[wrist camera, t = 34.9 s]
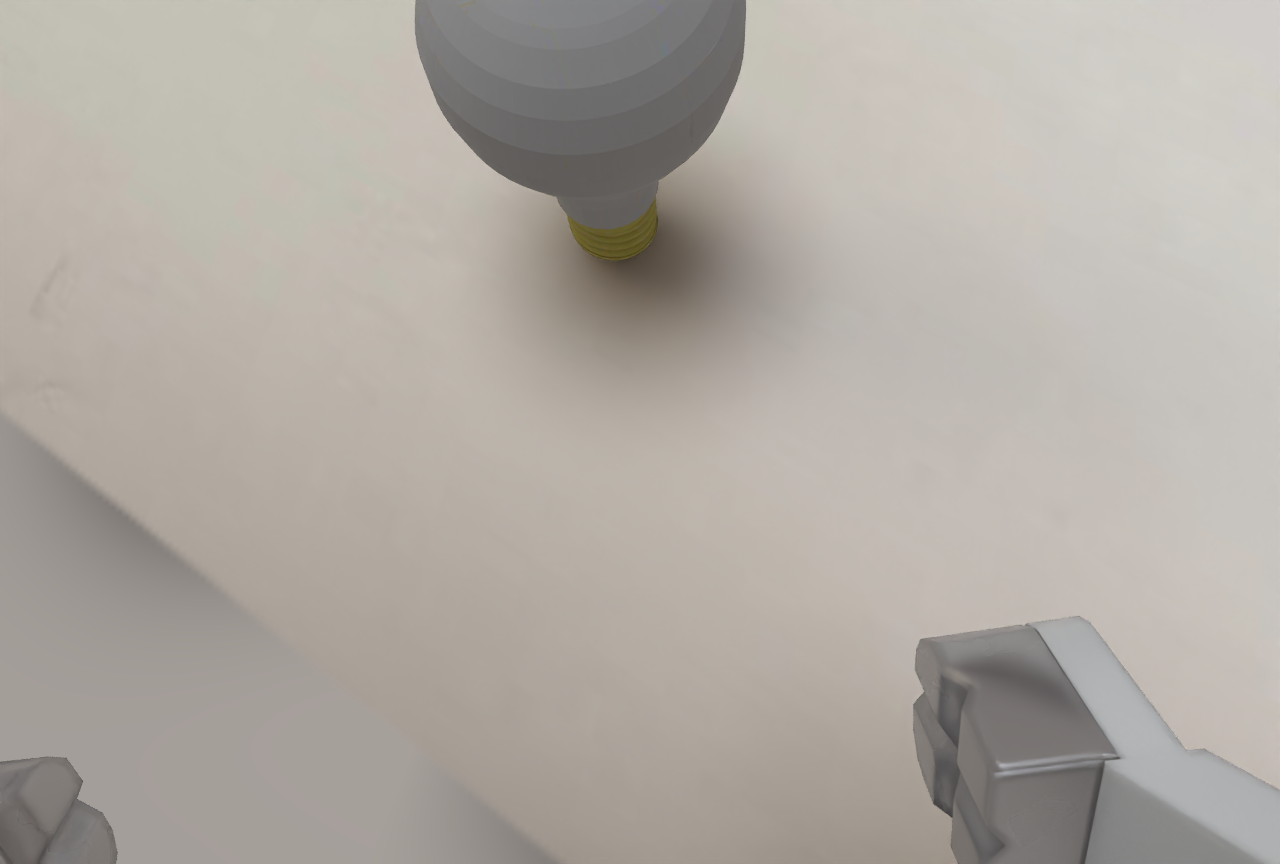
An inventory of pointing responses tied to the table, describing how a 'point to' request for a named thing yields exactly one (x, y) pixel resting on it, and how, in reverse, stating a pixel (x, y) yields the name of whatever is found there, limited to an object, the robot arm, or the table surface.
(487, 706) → the table surface
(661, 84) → the light bulb
